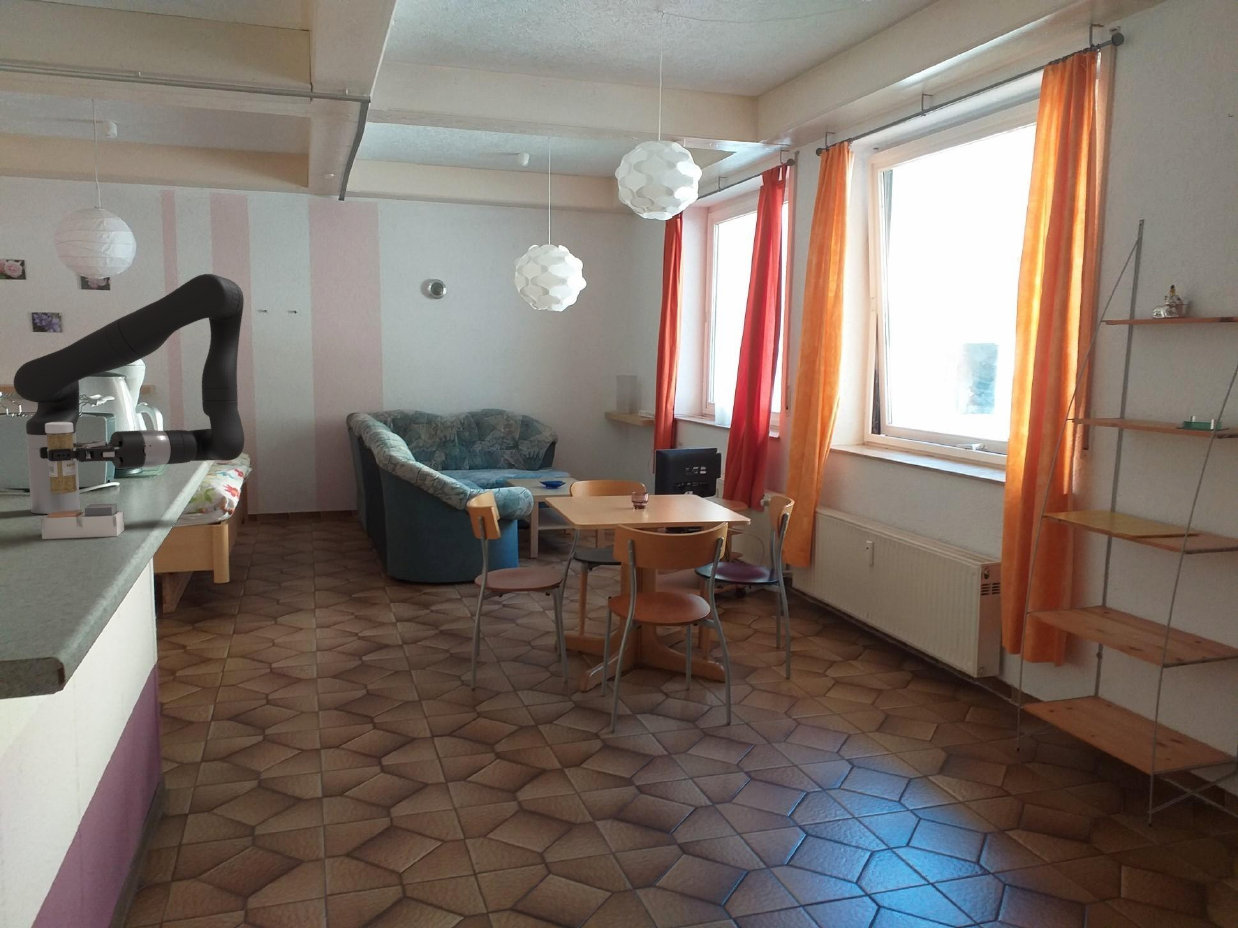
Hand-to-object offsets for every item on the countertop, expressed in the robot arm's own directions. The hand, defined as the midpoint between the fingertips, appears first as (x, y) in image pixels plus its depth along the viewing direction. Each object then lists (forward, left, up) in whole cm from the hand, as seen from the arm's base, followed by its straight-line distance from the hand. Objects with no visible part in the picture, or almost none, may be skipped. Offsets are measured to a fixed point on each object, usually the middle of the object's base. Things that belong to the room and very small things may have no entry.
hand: (44, 454), depth 171 cm
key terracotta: (-1, +3, -14) cm, 14 cm away
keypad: (-1, +6, -16) cm, 17 cm away
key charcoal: (-1, +9, -12) cm, 15 cm away
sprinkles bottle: (-2, +2, -8) cm, 8 cm away
